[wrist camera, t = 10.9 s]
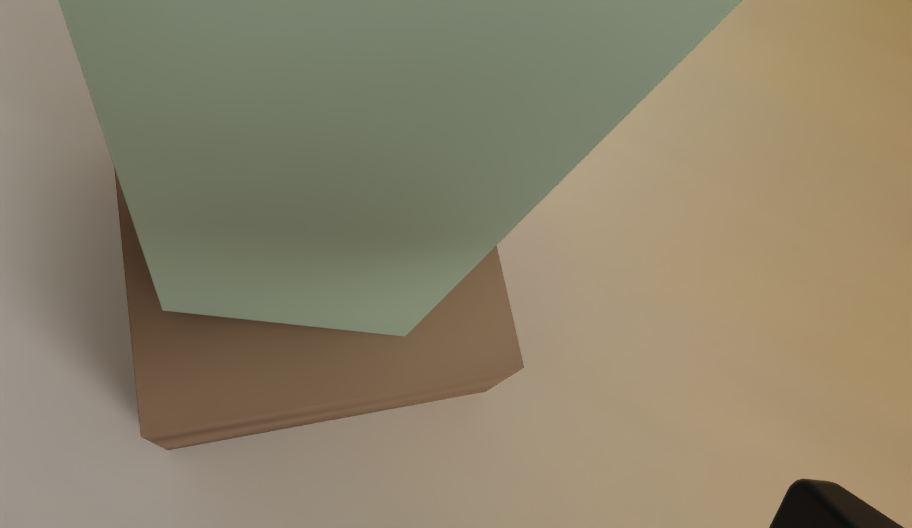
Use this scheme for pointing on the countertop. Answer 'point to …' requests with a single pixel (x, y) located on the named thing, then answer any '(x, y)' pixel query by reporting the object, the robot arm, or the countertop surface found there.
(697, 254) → the countertop surface
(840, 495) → the robot arm
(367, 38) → the sage green block
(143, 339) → the walnut block
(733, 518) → the countertop surface
